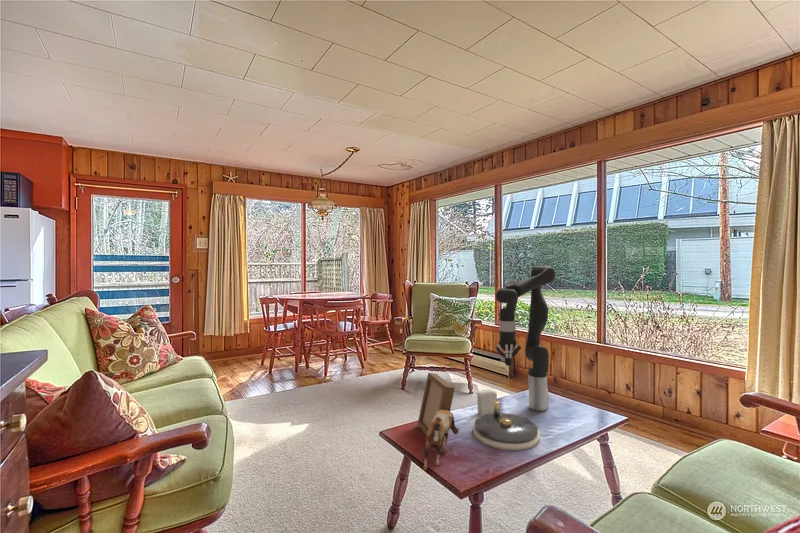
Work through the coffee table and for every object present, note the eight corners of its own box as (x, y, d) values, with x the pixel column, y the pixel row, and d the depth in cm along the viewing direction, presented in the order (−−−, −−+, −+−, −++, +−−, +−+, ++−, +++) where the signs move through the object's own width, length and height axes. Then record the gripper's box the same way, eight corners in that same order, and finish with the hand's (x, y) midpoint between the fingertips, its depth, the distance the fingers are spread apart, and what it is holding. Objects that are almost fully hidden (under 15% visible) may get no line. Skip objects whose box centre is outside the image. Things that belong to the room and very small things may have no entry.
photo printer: (480, 416, 186) (479, 391, 186) (476, 413, 190) (475, 389, 190) (498, 414, 188) (498, 389, 188) (494, 410, 192) (494, 387, 192)
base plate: (506, 416, 185) (505, 412, 185) (555, 439, 160) (554, 434, 160) (459, 429, 171) (459, 425, 171) (505, 457, 146) (505, 452, 146)
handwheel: (468, 417, 178) (468, 402, 178) (523, 415, 180) (522, 399, 180) (485, 444, 151) (484, 426, 151) (549, 441, 153) (548, 423, 153)
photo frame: (433, 447, 154) (432, 387, 155) (417, 426, 175) (417, 373, 176) (465, 443, 158) (465, 384, 158) (446, 422, 179) (446, 371, 179)
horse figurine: (434, 481, 131) (439, 424, 130) (414, 473, 134) (419, 418, 133) (458, 442, 159) (463, 395, 158) (441, 437, 162) (445, 391, 161)
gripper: (517, 328, 184) (518, 362, 184) (491, 328, 183) (492, 363, 183) (523, 330, 177) (524, 366, 177) (496, 331, 176) (497, 367, 176)
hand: (508, 365), depth 180 cm, fingers closed
